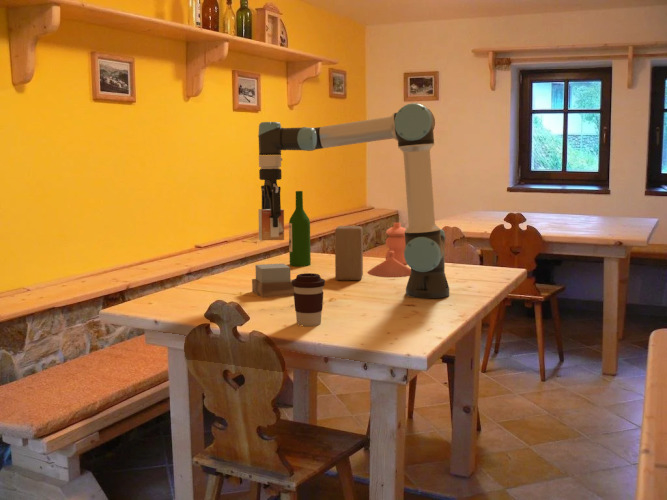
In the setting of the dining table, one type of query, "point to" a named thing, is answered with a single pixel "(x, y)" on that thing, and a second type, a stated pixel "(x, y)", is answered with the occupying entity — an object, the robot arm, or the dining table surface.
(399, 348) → the dining table surface
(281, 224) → the small box
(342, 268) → the block
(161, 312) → the dining table surface
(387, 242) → the ceramic vessels
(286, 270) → the tower top
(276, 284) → the tower base
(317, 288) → the coffee cup
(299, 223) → the wine bottle
